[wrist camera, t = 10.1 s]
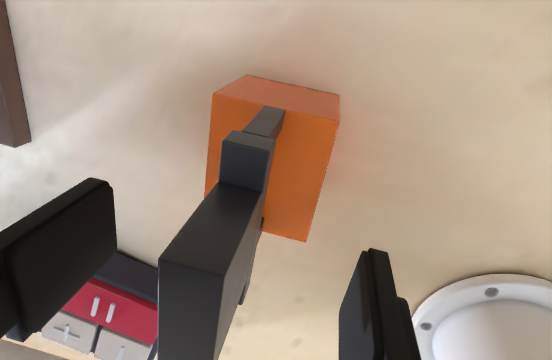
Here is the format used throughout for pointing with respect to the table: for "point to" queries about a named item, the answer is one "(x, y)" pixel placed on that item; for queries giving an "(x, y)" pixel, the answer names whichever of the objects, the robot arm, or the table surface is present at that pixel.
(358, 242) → the table surface
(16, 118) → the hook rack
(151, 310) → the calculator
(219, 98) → the orange square box
